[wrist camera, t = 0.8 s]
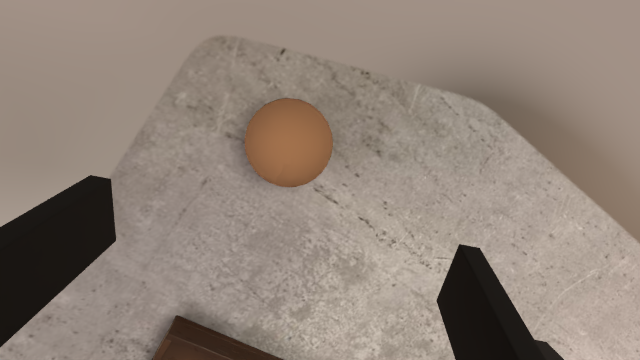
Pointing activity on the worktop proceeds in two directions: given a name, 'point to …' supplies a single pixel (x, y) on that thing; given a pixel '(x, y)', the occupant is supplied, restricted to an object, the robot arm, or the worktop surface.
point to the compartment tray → (203, 345)
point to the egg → (288, 142)
